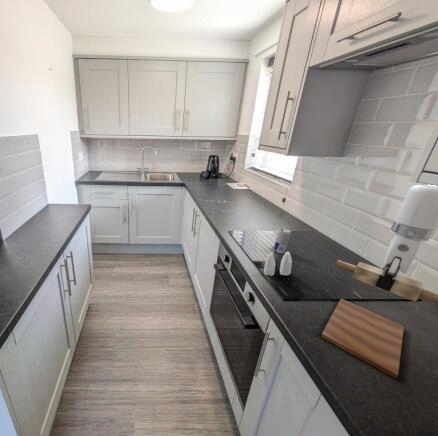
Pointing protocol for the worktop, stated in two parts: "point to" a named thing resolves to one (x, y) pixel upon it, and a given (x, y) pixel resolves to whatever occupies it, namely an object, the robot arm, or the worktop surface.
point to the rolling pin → (400, 287)
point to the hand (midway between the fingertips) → (383, 284)
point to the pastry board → (366, 336)
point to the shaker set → (284, 267)
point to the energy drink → (282, 240)
